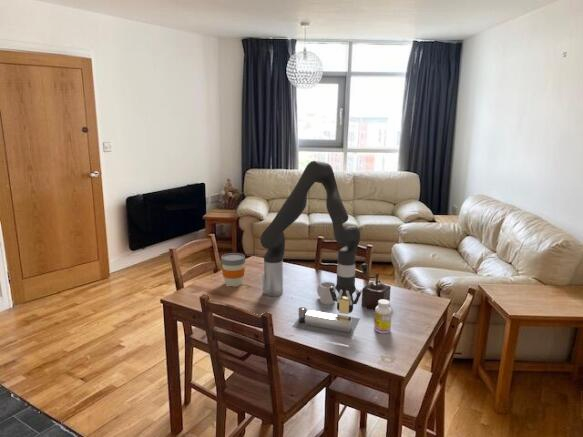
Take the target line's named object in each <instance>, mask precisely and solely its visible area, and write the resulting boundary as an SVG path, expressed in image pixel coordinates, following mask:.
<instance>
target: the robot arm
mask: <svg viewBox="0 0 583 437" xmlns="http://www.w3.org/2000/svg"><path fill="white" fill-rule="evenodd" d="M335 176H336V175H335V173H334V170H333V168H332V166H331V164H330V163H328V162H326V161H321V160H320V161H319V160H312V161H310V162H309V163H308V164H307V165H306V166H305V168H304V170H303V172H302V174H301V176H300V177H299V180H298V182H297V183H296V185H295V186H294V188H293V190H292V191H291V193H290V194H289V195H288V197H287V199H286V200H285V201H284V203H283V204H282V206H281V208H280V209H279V210H278V212H277V214H276V215H275V216H274V218H273V219H272V221H271V223H270V224H269V225H268V226H267V227H266V228H265V229H264V231H262V233H261V235H260V245H261V246H262V247H263V248H264V249H267V250H266V252H265V253H264V255H263V275H262V294H264V295H266V296H268V297H278V296H281V295H282V294H283V293H284V292H283V291H284V288H283V287H284V286H283V285H284V281H283V280H284V278H283V276H284V275H283V274H284V272H283V271H284V270H283V269H284V268H283V267H284V266H283V264H284V261H283V258H284V255H285V249H286V248H285V245H286V238H285V233H284V232H285V230H286V229H287V228H289V227H290V226H291V225H292V224H294V222H296V221H297V219H299V217H300V216H301V215H302V213H303V212H304V211H305V209H306V207H307V204H308V192H309V190H310V189H311V188H312V187H313V185H314V184H315V183H318V184H321V185H322V186H323V188H324V191H325V193H326V201H325V202H326V203H325V206H326V210H327V213H328V215H329V217H330V219H331V223H332V230H333V237H334V240H335V242H336V243H337V244H339V245H344V246H343V247H341V248H340V249H339V250H338V253H337V266H336V284H335V285H336V286H334V287H333V286H331V287H330V289H329V290H330V293H331V296H332V299H333V301H335V302H336V310H337V311H338V312H339V299H341V297H342V296H345V297H348V300H349V304H350V305H349V314H351V313H352V312H353V310H354V305H357V304H358V302H359V299H360V297H361V296H362V289H357V288H356V254H357V250H358V247H359V243H360V240H361V231H360V229H359V227H358V226H356V225H347V226H343V224H345V223H347V222H348V220H349V214H348V212H347V210H346V207H345V205H344V204H343V201H342V199H341V195H340V192H339V187H338V184H337V181H336V177H335ZM336 291H337V293H338V295H337V293H336ZM354 293H355V296H356V297H355V299H354V297H353V294H354Z"/></svg>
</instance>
